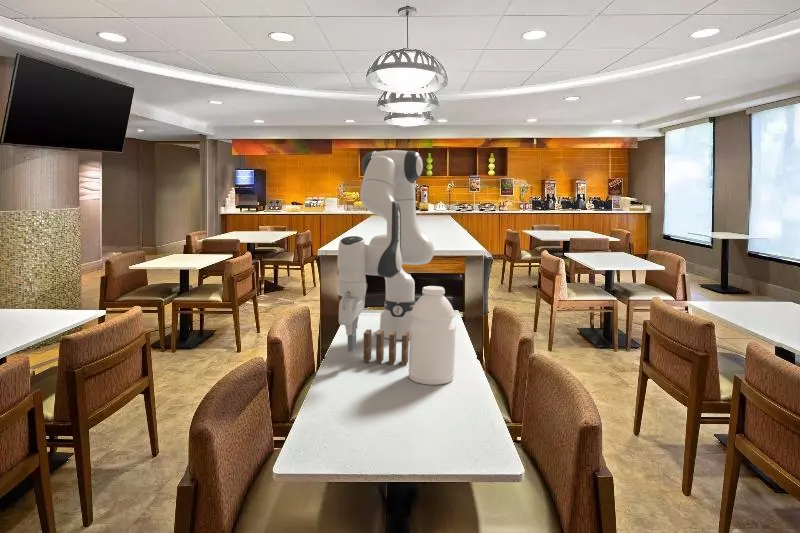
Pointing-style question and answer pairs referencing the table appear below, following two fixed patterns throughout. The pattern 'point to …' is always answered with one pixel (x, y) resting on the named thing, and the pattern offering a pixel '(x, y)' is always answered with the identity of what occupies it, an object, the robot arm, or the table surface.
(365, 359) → the domino
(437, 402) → the table surface
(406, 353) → the domino
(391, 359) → the domino
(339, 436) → the table surface
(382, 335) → the domino
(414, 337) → the bottle
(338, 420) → the table surface
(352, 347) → the end domino
